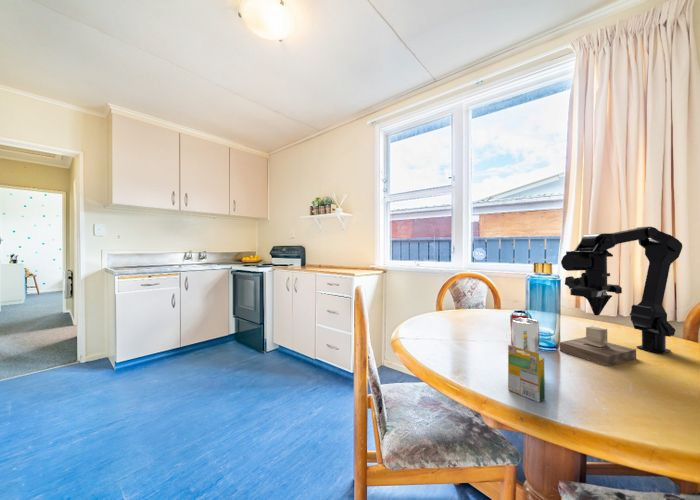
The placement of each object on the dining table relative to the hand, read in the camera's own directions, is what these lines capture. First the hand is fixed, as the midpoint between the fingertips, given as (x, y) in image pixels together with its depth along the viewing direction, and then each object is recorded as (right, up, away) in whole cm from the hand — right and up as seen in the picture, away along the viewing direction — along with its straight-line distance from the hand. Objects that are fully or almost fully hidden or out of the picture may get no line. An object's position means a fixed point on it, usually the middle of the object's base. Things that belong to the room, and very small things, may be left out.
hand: (596, 315), depth 97 cm
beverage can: (-23, -13, +6) cm, 27 cm away
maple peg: (-2, -13, -2) cm, 13 cm away
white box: (-34, -13, -15) cm, 39 cm away
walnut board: (-2, -13, -2) cm, 13 cm away
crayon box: (-42, -14, -27) cm, 52 cm away
